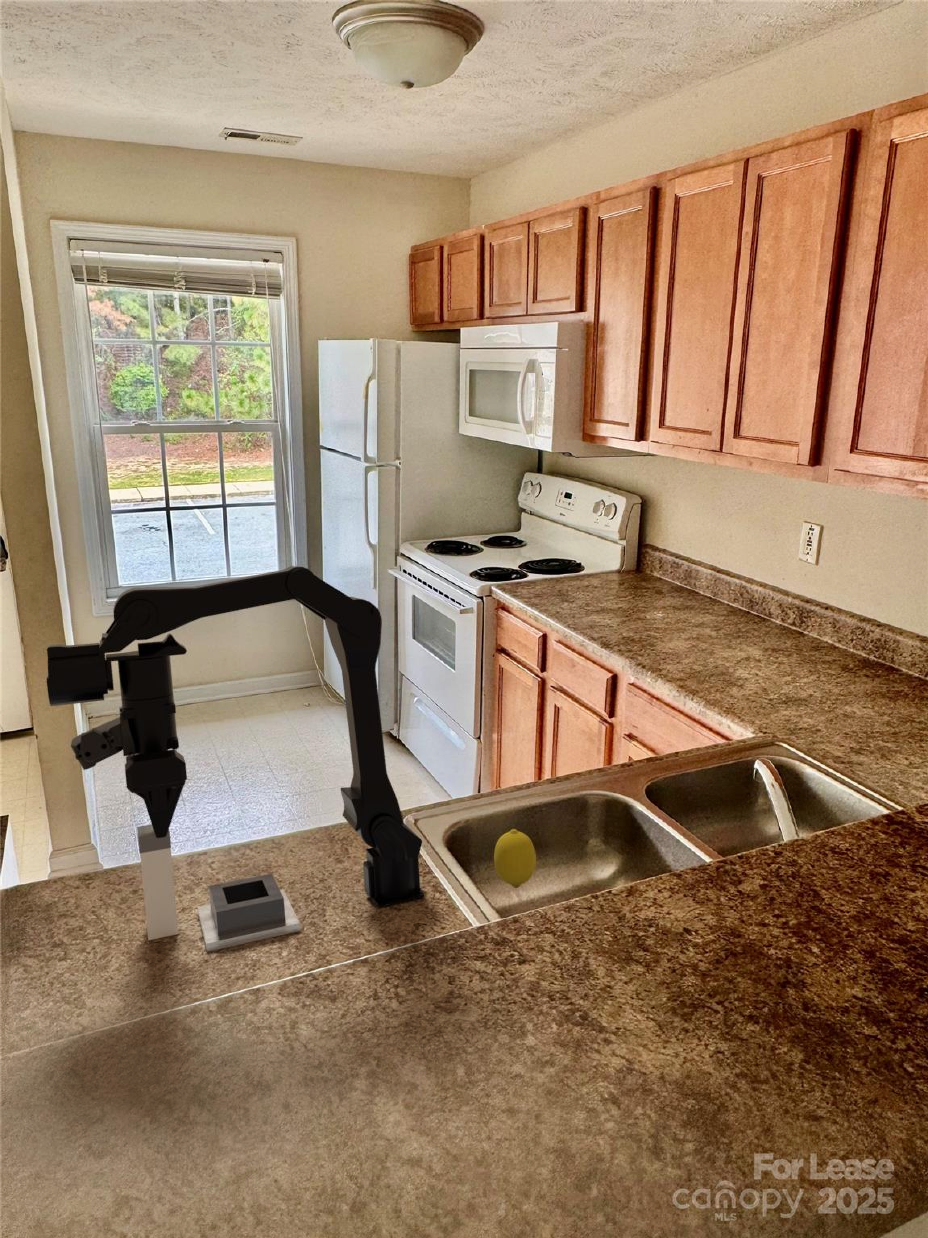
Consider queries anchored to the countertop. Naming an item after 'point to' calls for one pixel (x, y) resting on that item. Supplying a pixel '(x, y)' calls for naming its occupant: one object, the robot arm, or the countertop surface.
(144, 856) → the plug block
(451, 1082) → the countertop surface
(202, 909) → the socket plate
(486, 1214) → the countertop surface
